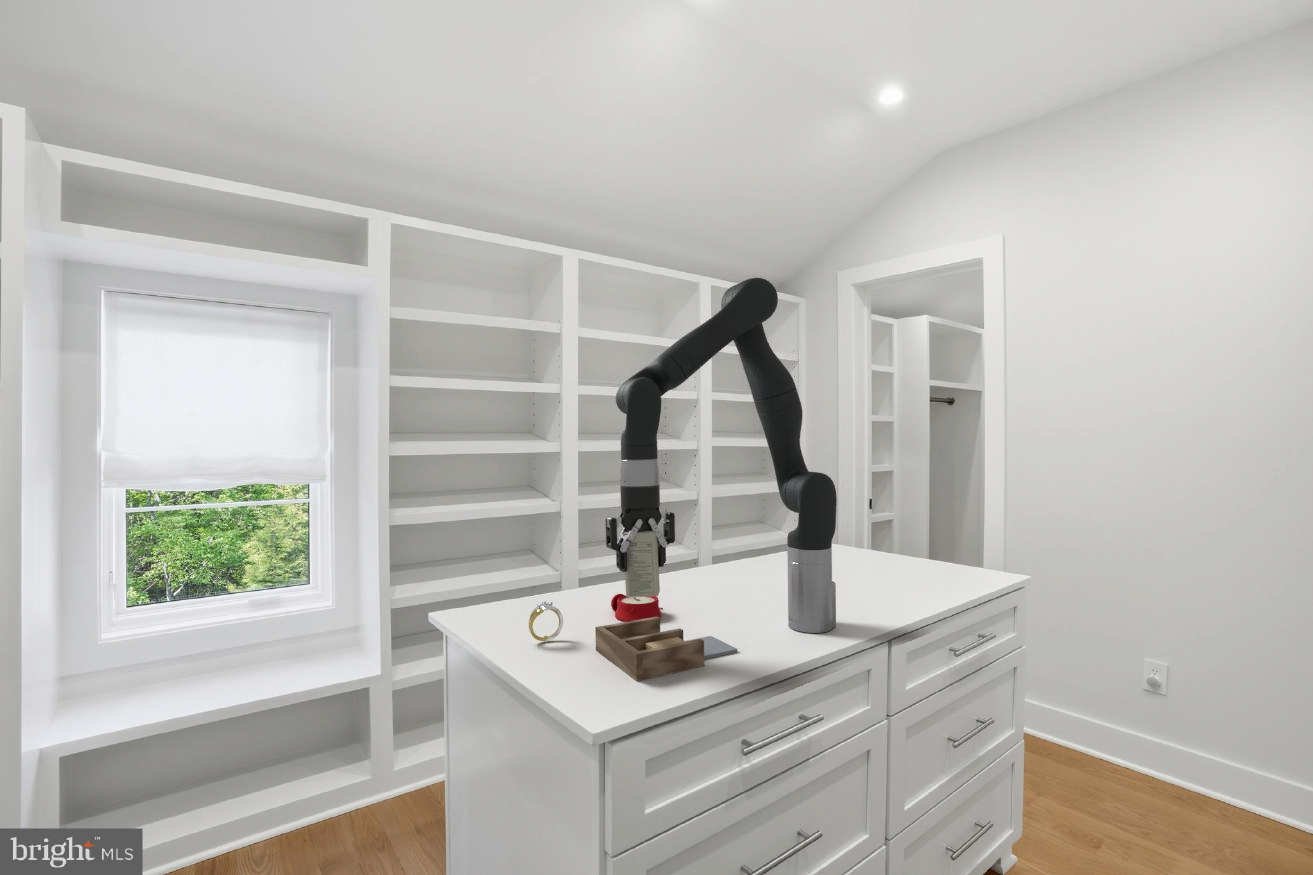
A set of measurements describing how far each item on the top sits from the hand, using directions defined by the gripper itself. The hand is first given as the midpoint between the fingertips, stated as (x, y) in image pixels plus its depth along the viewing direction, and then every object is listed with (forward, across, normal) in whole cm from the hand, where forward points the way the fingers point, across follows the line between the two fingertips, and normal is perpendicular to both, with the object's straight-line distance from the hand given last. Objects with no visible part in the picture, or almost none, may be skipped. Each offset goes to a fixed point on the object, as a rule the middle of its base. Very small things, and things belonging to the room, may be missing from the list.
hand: (641, 568), depth 118 cm
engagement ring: (+16, -14, +15) cm, 26 cm away
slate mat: (+16, +11, -5) cm, 20 cm away
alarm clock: (+16, +10, +23) cm, 30 cm away
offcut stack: (+16, +1, -8) cm, 18 cm away
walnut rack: (+16, 0, -4) cm, 16 cm away
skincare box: (+5, 0, 0) cm, 5 cm away
